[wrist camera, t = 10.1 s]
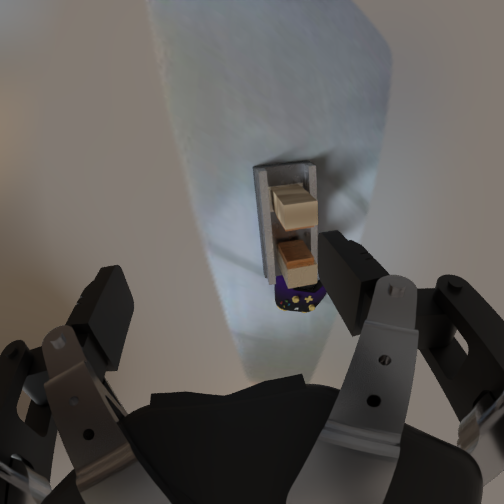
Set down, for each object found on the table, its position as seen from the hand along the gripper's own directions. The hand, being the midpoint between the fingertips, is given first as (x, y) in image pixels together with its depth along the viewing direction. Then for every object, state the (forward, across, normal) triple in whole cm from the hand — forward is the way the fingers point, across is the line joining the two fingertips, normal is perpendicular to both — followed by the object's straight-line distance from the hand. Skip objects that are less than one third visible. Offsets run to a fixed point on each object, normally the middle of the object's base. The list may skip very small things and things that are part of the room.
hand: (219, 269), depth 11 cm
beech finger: (+26, -9, +6) cm, 29 cm away
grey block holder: (+28, -9, +10) cm, 31 cm away
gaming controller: (+29, -10, +24) cm, 39 cm away
